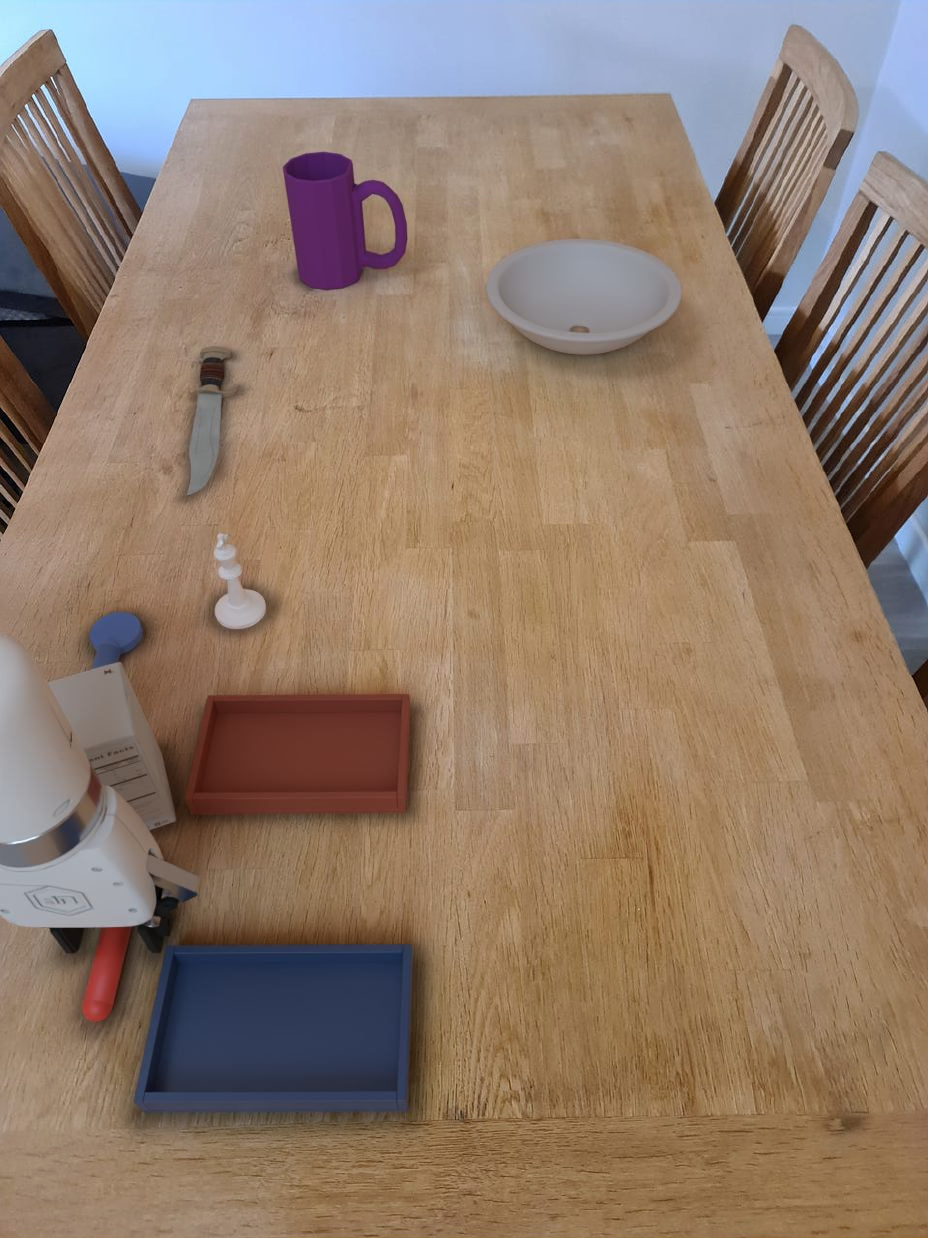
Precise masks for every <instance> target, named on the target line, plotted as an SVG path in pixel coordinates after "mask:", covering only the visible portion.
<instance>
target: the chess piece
mask: <svg viewBox="0 0 928 1238" xmlns="http://www.w3.org/2000/svg"><path fill="white" fill-rule="evenodd" d="M216 538H217V541H218V542H217V544H216V545H215V549H214V550H213V557H214V559H215V560H216V561H217V562H218V563H219V564H220V566H219V568H218V572H217V574H218V576H219V577H220V578H221V579H222V580H226V585H227V593H225V594H224V595H223V596H221V597H220V598H219V600H218V601H217V602H216V604H215V607H214V616H215V618H216V620H217V622H218V623H219V624H220V625H222V627H224V628H227V629H230V630H231V629H232V630H243V629H247V628H250V627H253V626H254V625H256V624H257V623H259V622H260V620H262V619H263V618H264V616H265V614H266V611H267V604H266V600H265V598H264V597H263V595H262V594H261V593H259V592H258V591H256V590H254V589H248V588H243V586H242V583H241V581H240V579H239V577H240V575H242V572H243V568H242V565H240V564H239V563H238V562H237V561H236V558H237V548H236V547H235V545H233V544H229V543H228V541H229V539H230V538H229V534H227V533H218V535H217V536H216Z"/></svg>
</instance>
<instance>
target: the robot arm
mask: <svg viewBox="0 0 928 1238" xmlns="http://www.w3.org/2000/svg"><path fill="white" fill-rule="evenodd" d="M48 682H49V681H48V680H47V678H46V676H45V675H44V673H43V671H42V669H41V667H40V666H39V663H38V662H37V661H36V659H35V657H34V656H33V654H32V653H31V652H30V650H28V648H26V646H25V645H23V644H22V643H21V642H19V641H17V639H15V638H13V637H11V636H9V635H7V634H4V633H1V632H0V916H1V918H2V919H4V920H5V921H6V922H7V923H9V924H11V925H14V926H17V927H25V928H40V929H49V932H50V933H49V934H51V935H52V936H53V938H54V939H55V940H56V942H57V943H58V944H59V946H60V947H61V948H62V950H63V951H64V952H65V953H66V954H76V952H78V951H79V949H80V945H81V941H82V939H83V934H84V931H85V928H102V927H127V926H132V927H135V926H137V927H136V928H137V929H136V931H137V933H138V935H139V936H140V938H141V940H142V941H143V943H144V944H145V946H146V948H147V949H148V951H149V952H151V953H152V954H160V953H161V952H162V948H163V943H164V939H165V937H170V936H171V933H172V929H173V923H174V917H173V914H172V912H174V911H175V910H177V909H178V906H179V904H180V903H182V904H184V903H186V902H188V901H190V900H192V899H194V898H196V897H197V896H198V894H199V889H200V885H201V879H202V878H201V876H200V875H198V874H196V873H193V872H191V871H189V870H187V869H184V868H182V867H180V866H177V865H176V864H173V863H171V862H168V861H166V860H165V859H164V856H163V853H162V850H161V848H160V847H159V844H158V843H157V841H156V839H155V837H154V836H153V834H152V832H151V830H148V828H147V827H146V825H145V824H144V822H143V821H142V819H141V818H140V817H139V815H138V814H137V813H136V812H135V811H134V809H133V808H132V807H131V806H130V805H129V804H128V803H127V802H126V801H125V799H124V798H123V797H122V796H121V795H120V794H118V793H117V792H116V791H115V790H114V789H113V788H112V787H110V786H107V785H103V784H102V783H101V781H100V779H99V777H98V775H97V774H96V772H95V770H94V768H93V766H92V764H91V762H90V760H89V759H88V757H87V755H86V753H85V751H84V749H83V747H82V746H81V744H80V742H79V740H78V738H77V736H76V734H75V732H74V731H73V729H72V727H71V725H70V723H69V721H68V719H67V718H66V716H65V714H64V712H63V710H62V708H61V706H60V704H59V703H58V701H57V699H56V697H55V695H54V693H53V691H52V689H51V688H50V686H49V684H48Z"/></svg>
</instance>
